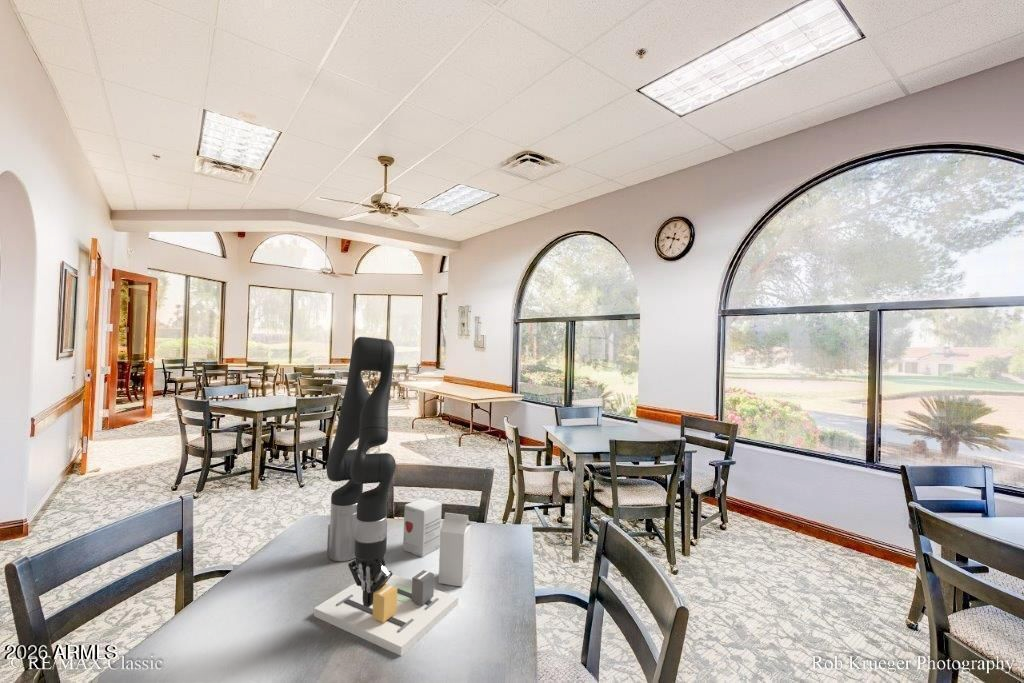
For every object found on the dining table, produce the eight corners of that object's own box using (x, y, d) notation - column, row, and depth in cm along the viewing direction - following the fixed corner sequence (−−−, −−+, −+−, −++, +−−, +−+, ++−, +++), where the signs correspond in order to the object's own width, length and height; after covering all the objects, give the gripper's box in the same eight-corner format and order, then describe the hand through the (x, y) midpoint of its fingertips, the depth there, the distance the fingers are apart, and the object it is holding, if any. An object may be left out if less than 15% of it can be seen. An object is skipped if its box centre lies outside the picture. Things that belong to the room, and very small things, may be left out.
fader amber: (372, 617, 107) (373, 592, 107) (385, 608, 111) (386, 583, 111) (383, 622, 105) (384, 596, 105) (396, 612, 109) (397, 587, 109)
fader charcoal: (411, 601, 114) (412, 577, 114) (422, 592, 118) (423, 569, 118) (422, 605, 112) (423, 581, 112) (433, 596, 116) (434, 573, 116)
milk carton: (462, 587, 126) (464, 520, 126) (438, 583, 127) (440, 517, 127) (469, 574, 133) (471, 510, 133) (447, 571, 134) (449, 508, 134)
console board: (313, 616, 110) (314, 606, 110) (378, 575, 130) (378, 568, 130) (401, 656, 98) (401, 645, 98) (457, 604, 117) (458, 596, 117)
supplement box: (401, 550, 146) (403, 504, 146) (420, 540, 154) (422, 496, 154) (422, 557, 142) (424, 510, 142) (441, 547, 149) (442, 502, 149)
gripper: (339, 534, 110) (337, 604, 110) (380, 547, 104) (377, 621, 104) (363, 523, 116) (360, 589, 116) (402, 535, 110) (399, 605, 110)
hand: (368, 604), depth 110 cm, fingers closed
